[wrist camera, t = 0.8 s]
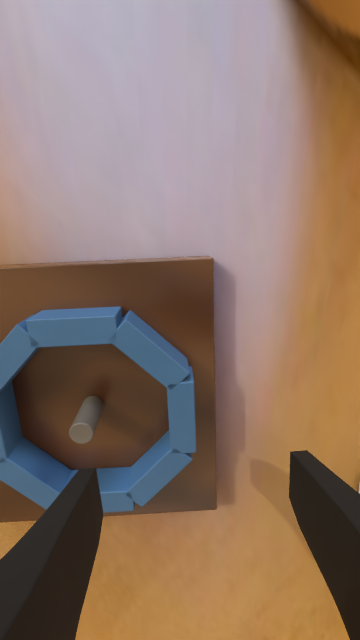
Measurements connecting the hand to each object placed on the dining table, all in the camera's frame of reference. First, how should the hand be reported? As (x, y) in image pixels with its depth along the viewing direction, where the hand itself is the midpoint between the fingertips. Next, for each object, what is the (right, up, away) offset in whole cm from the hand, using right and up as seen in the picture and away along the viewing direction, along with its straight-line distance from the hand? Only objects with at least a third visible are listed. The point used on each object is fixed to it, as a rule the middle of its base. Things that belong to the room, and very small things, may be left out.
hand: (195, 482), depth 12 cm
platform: (-6, +1, +8) cm, 10 cm away
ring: (-6, +1, +7) cm, 9 cm away
